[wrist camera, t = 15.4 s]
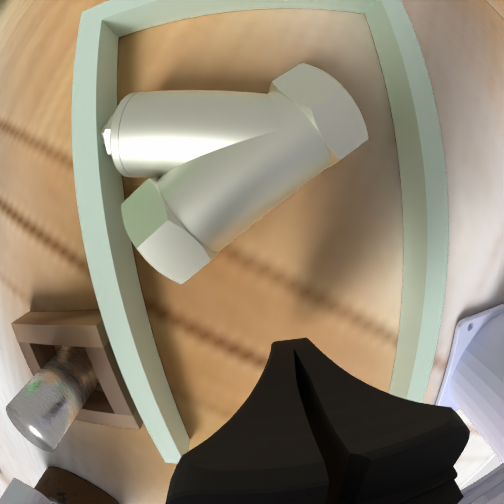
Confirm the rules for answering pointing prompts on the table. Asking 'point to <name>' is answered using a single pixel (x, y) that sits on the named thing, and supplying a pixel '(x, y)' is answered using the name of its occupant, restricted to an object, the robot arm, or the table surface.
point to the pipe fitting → (223, 160)
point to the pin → (53, 398)
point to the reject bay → (112, 196)
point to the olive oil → (70, 489)
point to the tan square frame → (100, 354)
